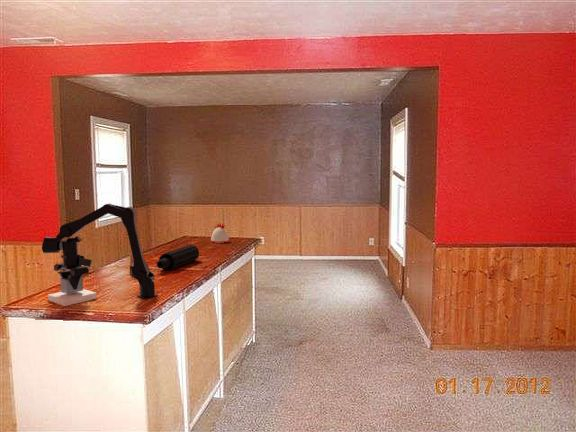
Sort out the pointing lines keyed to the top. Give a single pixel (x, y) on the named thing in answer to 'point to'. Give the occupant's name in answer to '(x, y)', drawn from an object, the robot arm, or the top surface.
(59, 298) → the board
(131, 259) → the ammunition clip
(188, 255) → the roller
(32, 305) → the top surface
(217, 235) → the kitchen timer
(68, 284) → the block
